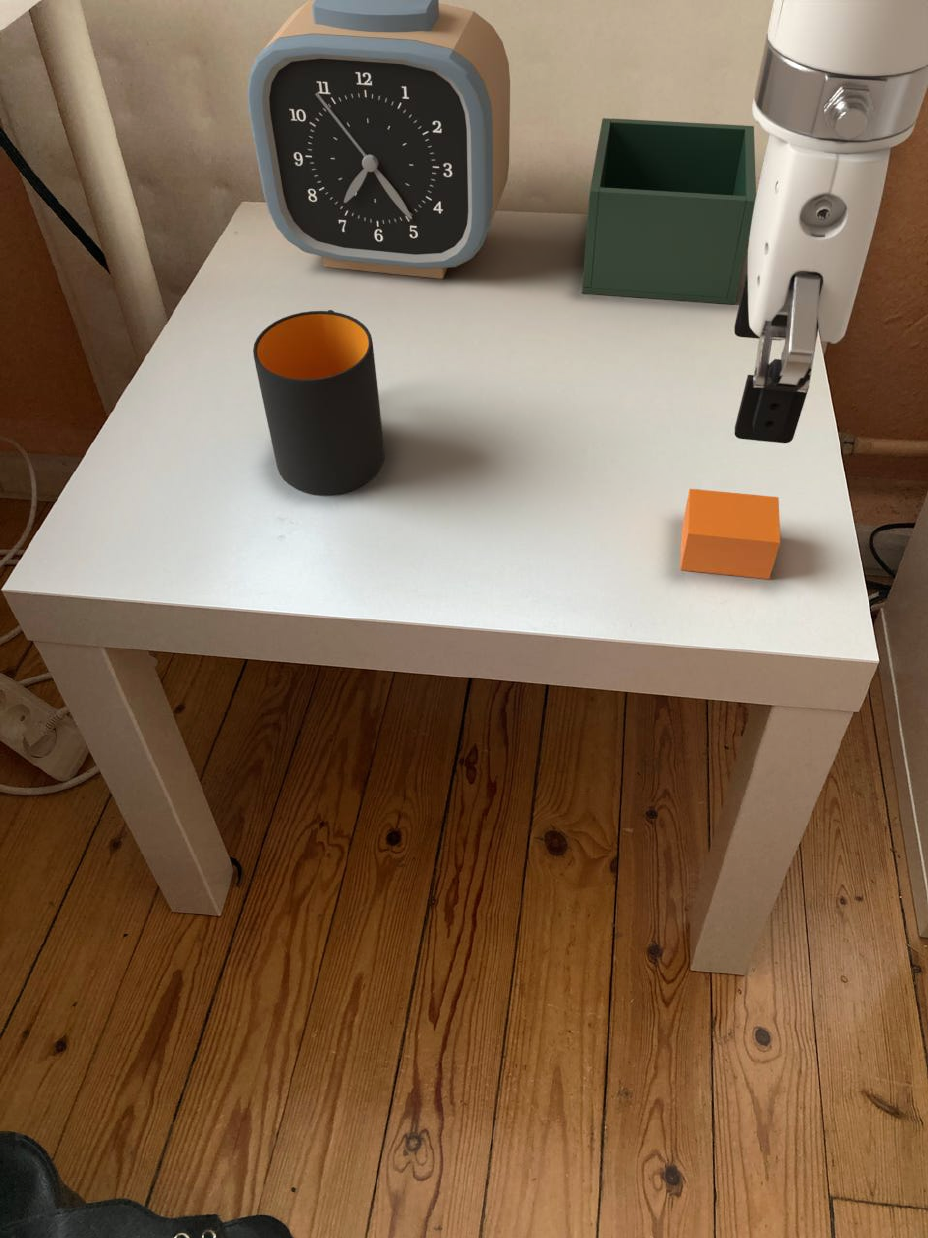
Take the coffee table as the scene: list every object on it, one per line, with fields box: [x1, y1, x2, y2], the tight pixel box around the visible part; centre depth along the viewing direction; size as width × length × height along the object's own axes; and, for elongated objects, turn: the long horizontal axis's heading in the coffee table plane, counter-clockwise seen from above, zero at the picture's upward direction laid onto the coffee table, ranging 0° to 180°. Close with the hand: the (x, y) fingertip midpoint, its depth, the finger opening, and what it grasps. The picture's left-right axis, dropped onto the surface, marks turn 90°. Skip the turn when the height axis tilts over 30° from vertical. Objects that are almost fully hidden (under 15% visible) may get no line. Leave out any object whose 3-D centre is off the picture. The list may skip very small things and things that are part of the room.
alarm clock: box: [246, 0, 511, 280], centre depth 89 cm, size 21×10×22 cm, turn 78°
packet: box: [679, 488, 781, 580], centre depth 70 cm, size 4×6×4 cm
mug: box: [252, 309, 385, 496], centre depth 76 cm, size 8×12×10 cm
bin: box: [581, 117, 757, 305], centre depth 92 cm, size 14×14×10 cm
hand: (760, 384), depth 61 cm, fingers open, 9 cm apart
